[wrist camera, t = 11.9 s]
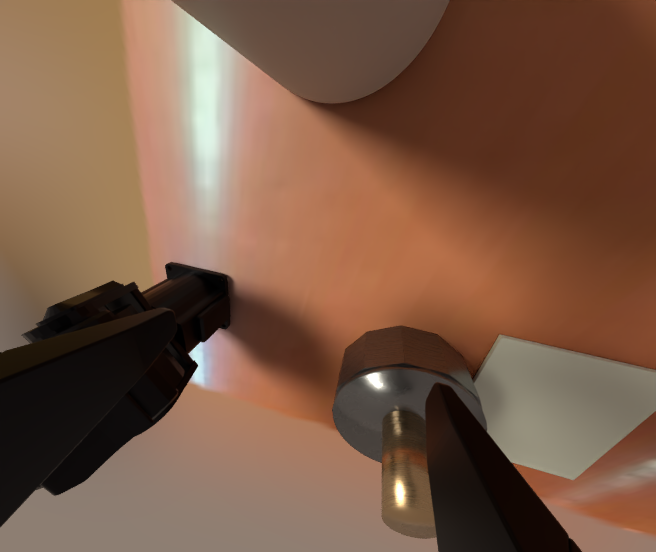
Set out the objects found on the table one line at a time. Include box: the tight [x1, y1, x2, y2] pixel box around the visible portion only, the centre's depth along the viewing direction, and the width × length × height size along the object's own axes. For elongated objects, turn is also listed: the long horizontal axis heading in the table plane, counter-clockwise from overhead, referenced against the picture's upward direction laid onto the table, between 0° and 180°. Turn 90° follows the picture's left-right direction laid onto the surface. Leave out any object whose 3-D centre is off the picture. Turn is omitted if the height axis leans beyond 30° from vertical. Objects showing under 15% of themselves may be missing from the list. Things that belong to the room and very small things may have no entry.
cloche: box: [332, 326, 487, 538], centre depth 19 cm, size 12×12×11 cm
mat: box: [472, 334, 656, 480], centre depth 23 cm, size 14×15×1 cm
